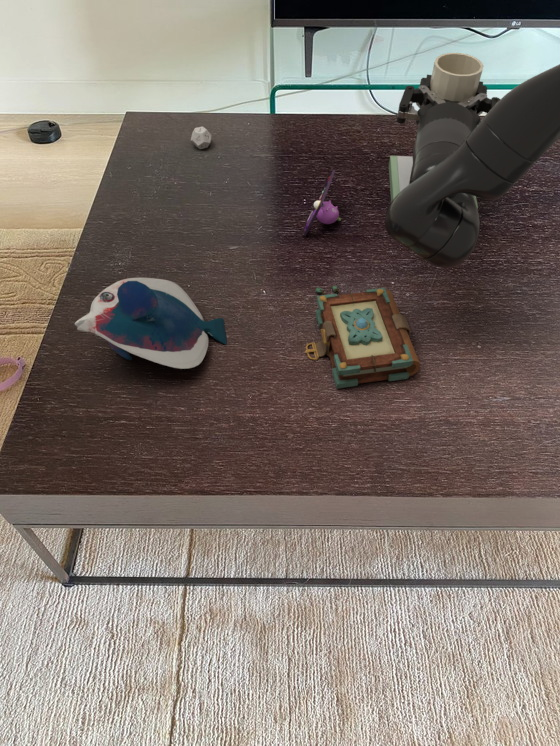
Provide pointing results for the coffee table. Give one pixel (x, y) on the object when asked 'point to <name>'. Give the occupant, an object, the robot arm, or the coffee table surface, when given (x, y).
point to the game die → (201, 137)
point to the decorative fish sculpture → (152, 322)
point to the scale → (401, 174)
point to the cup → (456, 76)
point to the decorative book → (364, 337)
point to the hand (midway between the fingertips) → (453, 84)
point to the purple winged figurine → (323, 209)
